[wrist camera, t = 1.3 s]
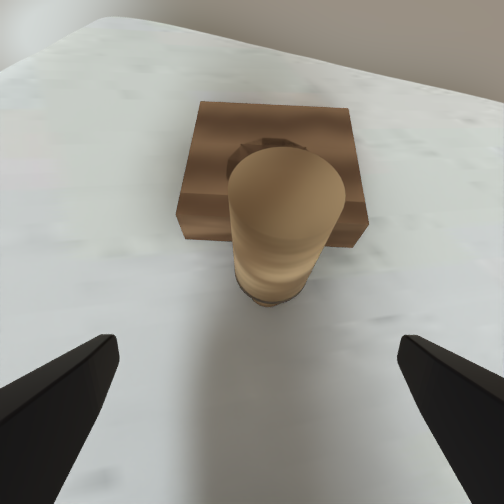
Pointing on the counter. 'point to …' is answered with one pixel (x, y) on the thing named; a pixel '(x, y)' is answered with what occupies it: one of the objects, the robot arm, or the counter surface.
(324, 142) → the seat block
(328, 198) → the dowel
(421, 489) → the counter surface
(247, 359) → the counter surface
